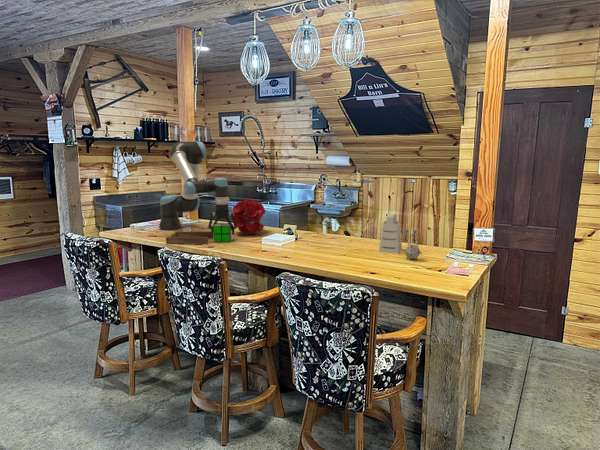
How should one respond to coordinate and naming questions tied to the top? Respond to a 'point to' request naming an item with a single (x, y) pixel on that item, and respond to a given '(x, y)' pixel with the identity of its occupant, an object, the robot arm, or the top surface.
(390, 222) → the grater
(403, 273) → the top surface
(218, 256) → the top surface
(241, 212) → the bouquet
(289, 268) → the top surface
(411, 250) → the game die
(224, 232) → the puzzle cube
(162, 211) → the robot arm
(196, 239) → the brown wooden slab
